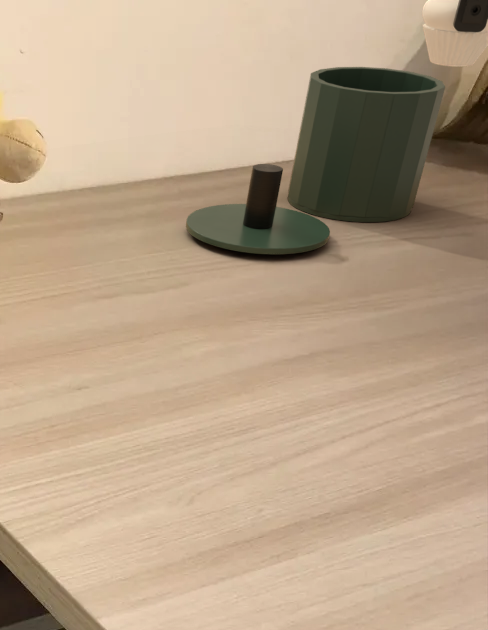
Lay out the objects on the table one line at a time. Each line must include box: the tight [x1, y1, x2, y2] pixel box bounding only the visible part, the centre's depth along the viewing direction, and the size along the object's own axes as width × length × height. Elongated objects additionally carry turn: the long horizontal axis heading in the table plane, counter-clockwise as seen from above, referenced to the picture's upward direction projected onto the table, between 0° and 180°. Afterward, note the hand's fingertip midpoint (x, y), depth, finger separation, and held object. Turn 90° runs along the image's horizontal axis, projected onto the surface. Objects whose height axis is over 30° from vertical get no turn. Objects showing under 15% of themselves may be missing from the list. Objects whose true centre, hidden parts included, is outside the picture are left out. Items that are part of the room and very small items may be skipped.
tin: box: [286, 66, 446, 223], centre depth 113 cm, size 14×14×12 cm
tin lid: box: [185, 163, 331, 255], centre depth 105 cm, size 15×15×7 cm
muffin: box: [421, 0, 488, 68], centre depth 78 cm, size 6×6×7 cm
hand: (462, 23), depth 79 cm, fingers closed on muffin, 6 cm apart
